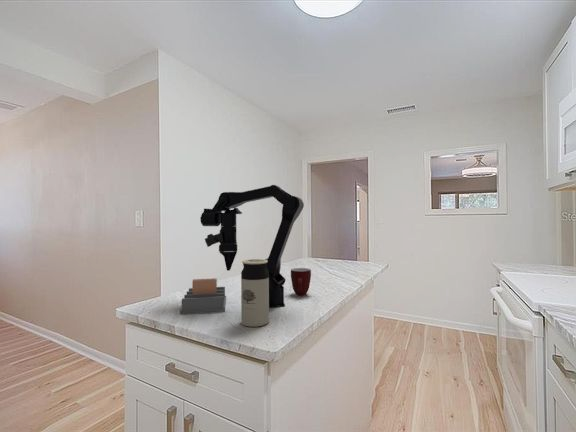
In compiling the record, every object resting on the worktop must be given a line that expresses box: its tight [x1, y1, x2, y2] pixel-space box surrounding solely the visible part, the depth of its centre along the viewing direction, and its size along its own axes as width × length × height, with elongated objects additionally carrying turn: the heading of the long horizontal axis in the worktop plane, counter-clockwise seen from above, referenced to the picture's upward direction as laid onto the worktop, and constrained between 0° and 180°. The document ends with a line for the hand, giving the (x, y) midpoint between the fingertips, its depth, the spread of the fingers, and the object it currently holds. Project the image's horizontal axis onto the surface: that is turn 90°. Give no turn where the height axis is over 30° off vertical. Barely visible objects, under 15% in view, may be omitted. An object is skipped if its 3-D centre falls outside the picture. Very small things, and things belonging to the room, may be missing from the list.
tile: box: [191, 277, 218, 294], centre depth 101 cm, size 8×2×8 cm, turn 101°
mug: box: [290, 267, 312, 297], centre depth 114 cm, size 11×8×10 cm
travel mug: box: [240, 258, 270, 328], centre depth 84 cm, size 8×8×18 cm
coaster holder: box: [179, 286, 227, 315], centre depth 101 cm, size 14×16×5 cm
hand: (228, 268), depth 107 cm, fingers open, 9 cm apart
